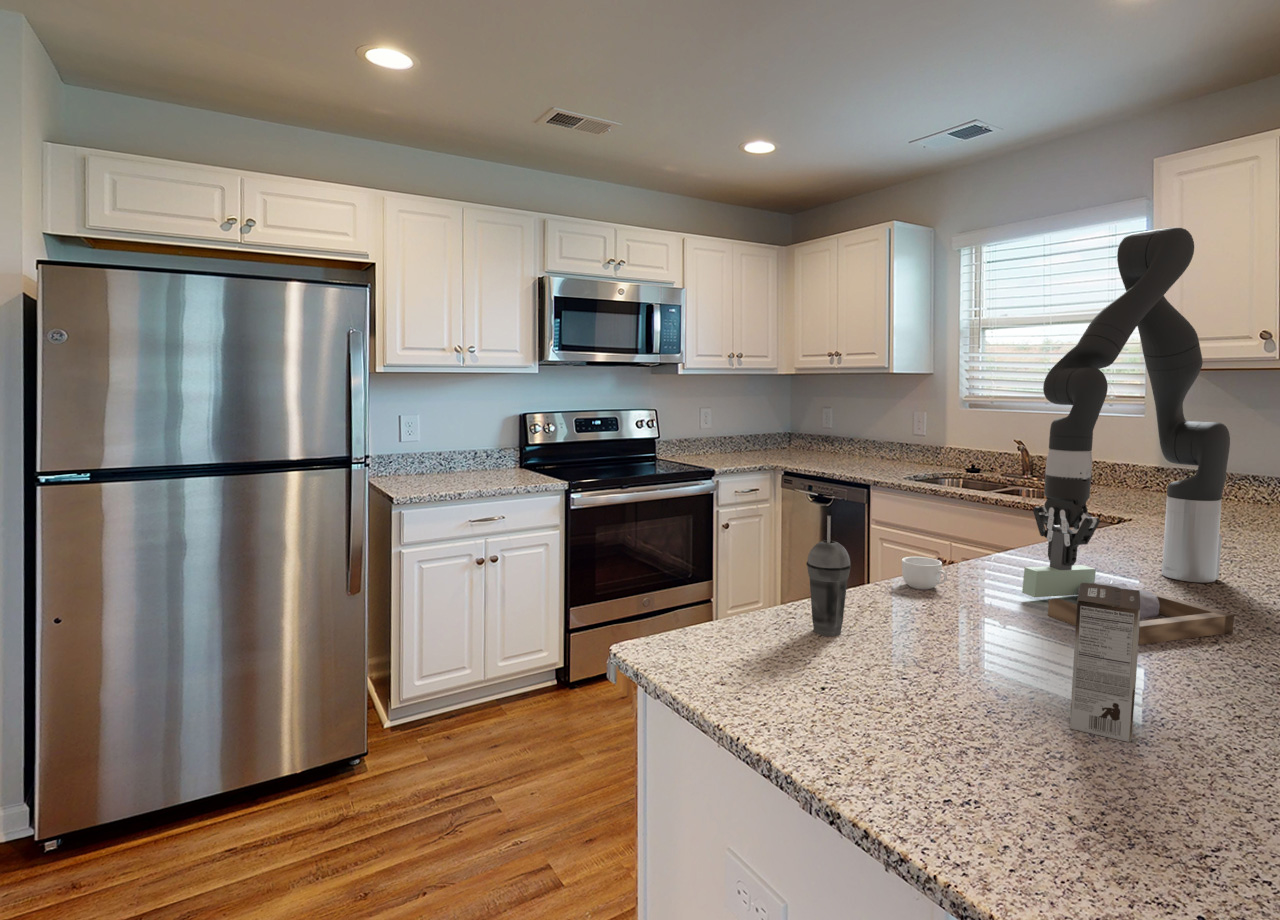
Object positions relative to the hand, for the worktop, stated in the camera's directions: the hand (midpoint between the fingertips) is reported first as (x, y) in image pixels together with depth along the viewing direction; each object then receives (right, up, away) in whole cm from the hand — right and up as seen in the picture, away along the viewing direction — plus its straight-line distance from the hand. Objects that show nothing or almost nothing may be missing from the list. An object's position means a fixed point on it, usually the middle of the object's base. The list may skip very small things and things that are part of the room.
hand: (1061, 562), depth 140 cm
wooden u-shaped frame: (+5, -9, -13) cm, 16 cm away
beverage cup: (-49, -10, -17) cm, 53 cm away
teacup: (-23, -7, +9) cm, 25 cm away
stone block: (+7, -8, -5) cm, 12 cm away
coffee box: (-24, -13, -50) cm, 57 cm away
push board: (0, -6, +1) cm, 6 cm away
